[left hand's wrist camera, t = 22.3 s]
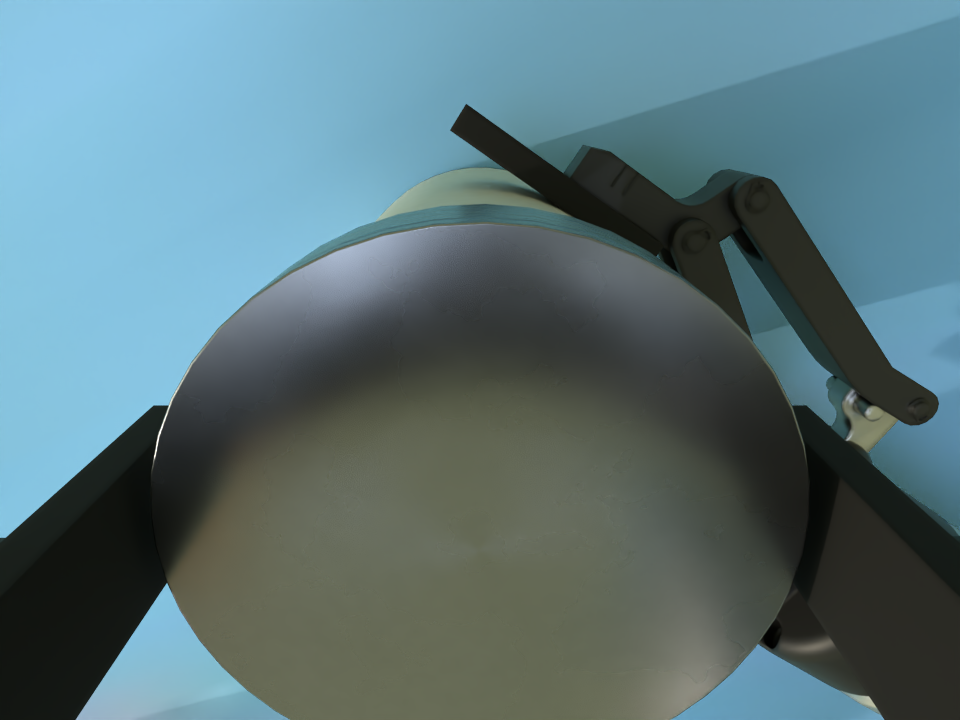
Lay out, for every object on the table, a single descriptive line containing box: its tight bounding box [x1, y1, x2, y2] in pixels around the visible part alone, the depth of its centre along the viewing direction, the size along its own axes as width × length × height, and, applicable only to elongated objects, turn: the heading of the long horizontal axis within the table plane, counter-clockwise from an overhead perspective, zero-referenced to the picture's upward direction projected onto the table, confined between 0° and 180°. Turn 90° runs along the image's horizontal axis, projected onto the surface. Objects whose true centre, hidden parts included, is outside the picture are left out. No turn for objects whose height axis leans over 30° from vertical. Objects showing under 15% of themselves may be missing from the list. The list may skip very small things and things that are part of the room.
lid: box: [150, 204, 810, 720], centre depth 11 cm, size 11×11×2 cm
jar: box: [375, 168, 573, 222], centre depth 18 cm, size 10×10×15 cm
